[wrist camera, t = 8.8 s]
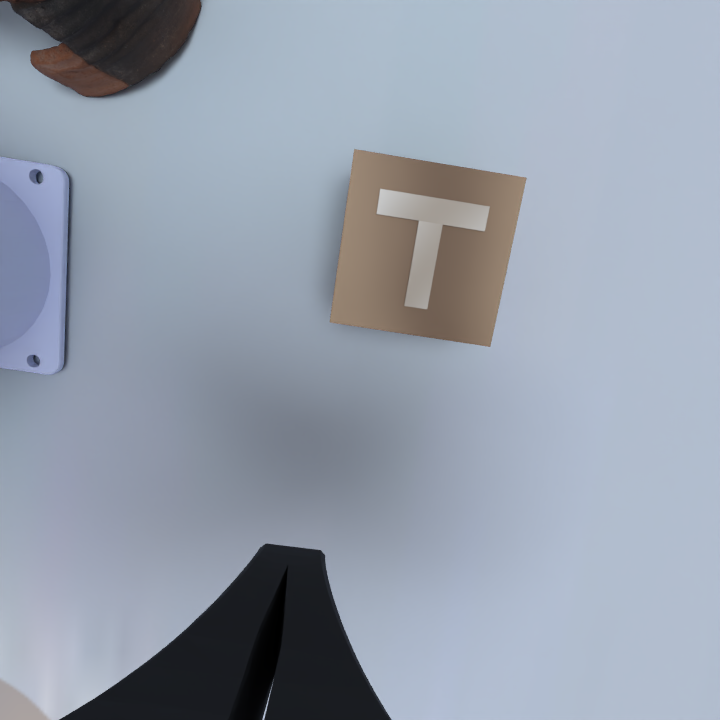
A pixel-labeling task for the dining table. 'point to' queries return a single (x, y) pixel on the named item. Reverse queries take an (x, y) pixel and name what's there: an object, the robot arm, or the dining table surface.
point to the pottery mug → (107, 39)
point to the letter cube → (425, 247)
